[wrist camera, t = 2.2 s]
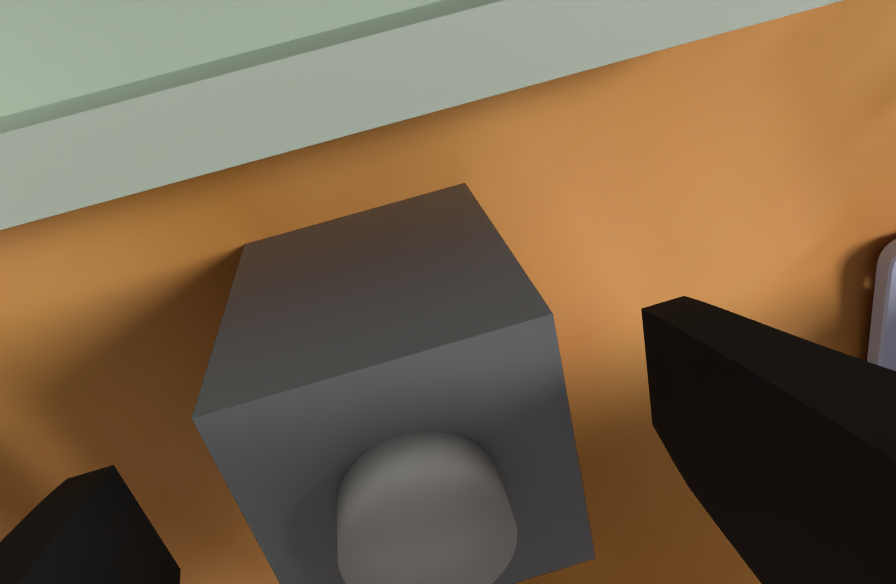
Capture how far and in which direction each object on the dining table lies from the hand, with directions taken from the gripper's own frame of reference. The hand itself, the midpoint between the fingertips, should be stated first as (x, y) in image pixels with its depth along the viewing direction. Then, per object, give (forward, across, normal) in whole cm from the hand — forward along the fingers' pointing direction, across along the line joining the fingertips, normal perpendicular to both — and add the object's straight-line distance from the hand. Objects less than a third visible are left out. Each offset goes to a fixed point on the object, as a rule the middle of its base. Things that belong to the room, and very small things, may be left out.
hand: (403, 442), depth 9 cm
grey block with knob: (+4, 0, 0) cm, 4 cm away
